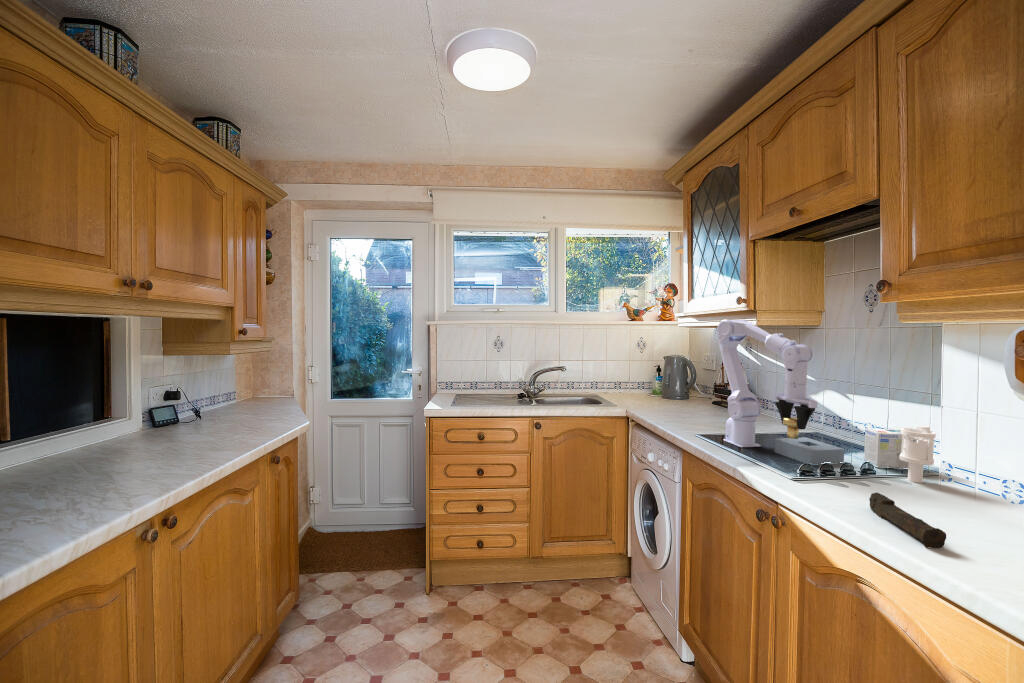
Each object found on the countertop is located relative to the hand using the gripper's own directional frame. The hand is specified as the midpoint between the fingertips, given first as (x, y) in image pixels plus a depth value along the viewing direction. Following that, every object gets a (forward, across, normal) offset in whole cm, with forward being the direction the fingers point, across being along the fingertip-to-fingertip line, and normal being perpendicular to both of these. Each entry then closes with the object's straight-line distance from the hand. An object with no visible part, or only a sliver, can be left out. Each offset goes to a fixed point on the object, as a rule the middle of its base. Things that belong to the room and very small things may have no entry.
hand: (793, 426), depth 143 cm
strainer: (+11, +22, +19) cm, 31 cm away
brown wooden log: (+11, +44, -15) cm, 48 cm away
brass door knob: (+3, 0, 0) cm, 4 cm away
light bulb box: (+11, +10, +25) cm, 29 cm away
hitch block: (+10, -1, +7) cm, 13 cm away
